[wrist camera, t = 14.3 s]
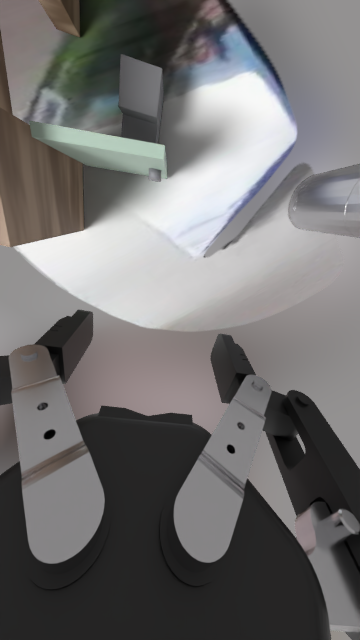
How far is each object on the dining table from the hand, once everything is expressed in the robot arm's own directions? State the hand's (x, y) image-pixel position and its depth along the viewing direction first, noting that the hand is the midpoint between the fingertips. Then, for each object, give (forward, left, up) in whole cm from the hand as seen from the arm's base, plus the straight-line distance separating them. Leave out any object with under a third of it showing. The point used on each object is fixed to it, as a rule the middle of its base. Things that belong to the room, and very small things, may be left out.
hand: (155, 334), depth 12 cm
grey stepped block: (+7, -17, -32) cm, 37 cm away
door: (+9, -11, -32) cm, 35 cm away
